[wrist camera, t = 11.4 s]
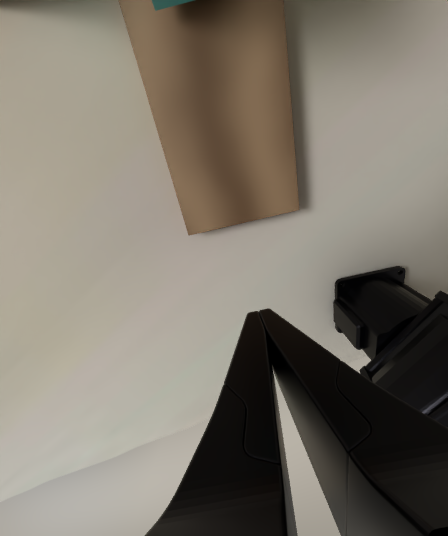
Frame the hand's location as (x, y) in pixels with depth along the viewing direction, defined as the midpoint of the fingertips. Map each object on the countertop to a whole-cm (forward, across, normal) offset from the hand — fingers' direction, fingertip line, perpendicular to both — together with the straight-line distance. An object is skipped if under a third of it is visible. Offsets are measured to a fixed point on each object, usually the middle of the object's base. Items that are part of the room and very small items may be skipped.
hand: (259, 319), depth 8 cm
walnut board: (+12, -1, -11) cm, 16 cm away
